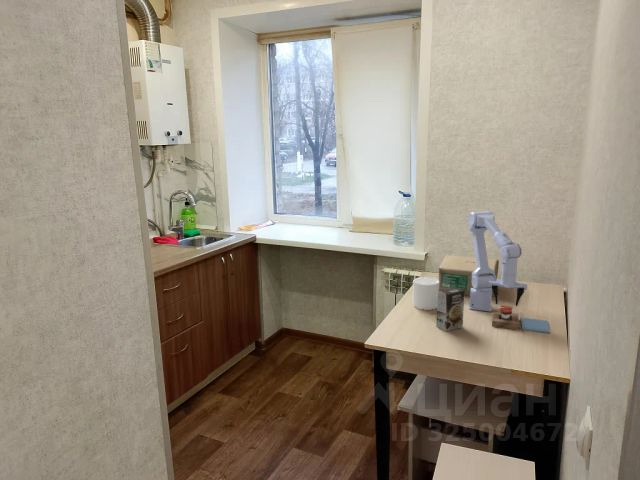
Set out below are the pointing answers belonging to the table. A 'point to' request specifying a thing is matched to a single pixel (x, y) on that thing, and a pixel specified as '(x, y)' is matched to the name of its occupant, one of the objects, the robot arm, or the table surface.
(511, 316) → the eye block
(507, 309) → the red mushroom head
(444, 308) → the coffee box
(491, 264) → the paper package
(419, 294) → the cup
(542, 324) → the mat
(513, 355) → the table surface
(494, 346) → the table surface
